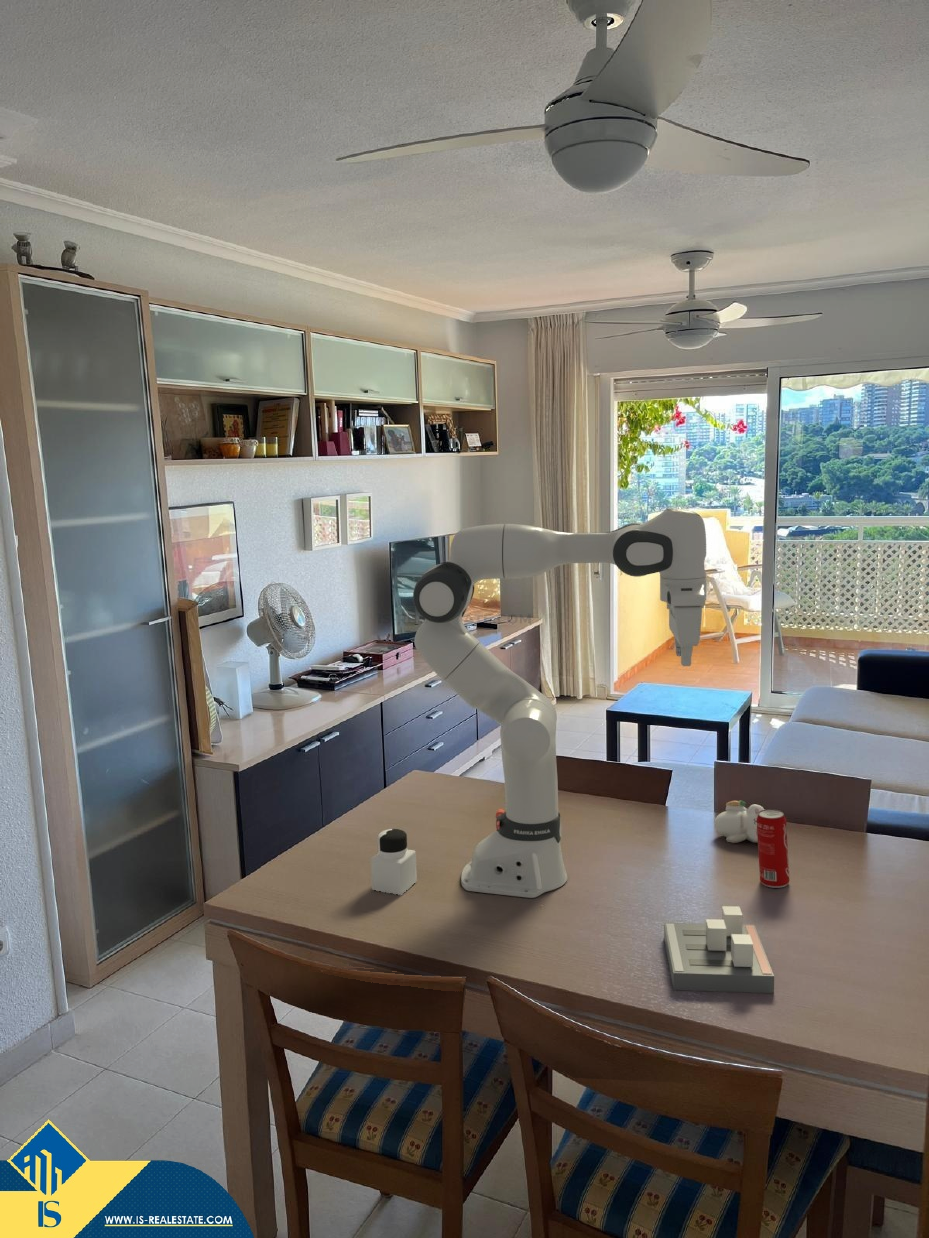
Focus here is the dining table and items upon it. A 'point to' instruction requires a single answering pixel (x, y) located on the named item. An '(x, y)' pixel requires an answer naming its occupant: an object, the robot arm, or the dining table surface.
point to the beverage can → (772, 848)
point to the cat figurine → (738, 822)
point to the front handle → (742, 950)
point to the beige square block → (715, 934)
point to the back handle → (732, 919)
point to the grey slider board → (713, 962)
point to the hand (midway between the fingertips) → (683, 660)
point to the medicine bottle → (393, 863)
